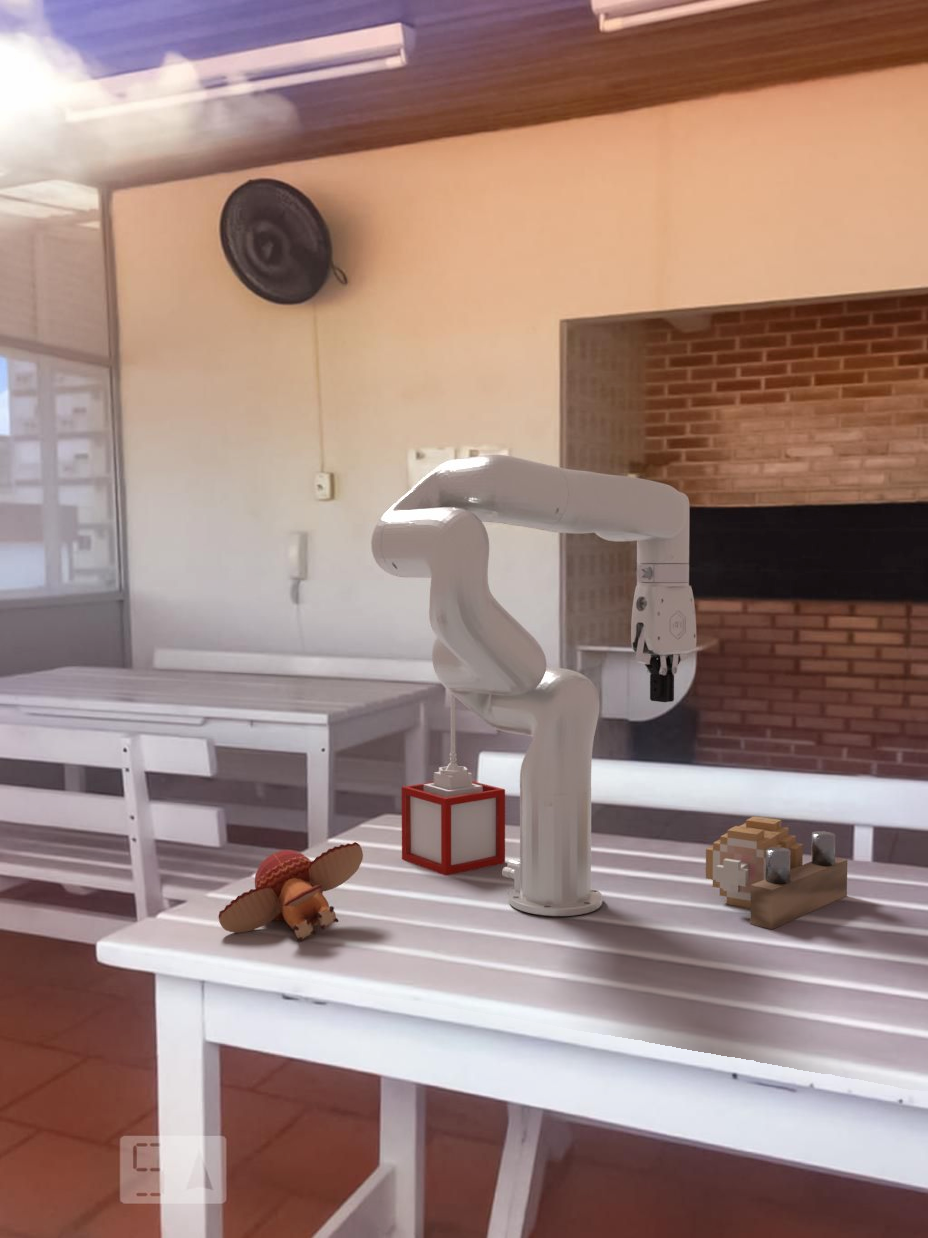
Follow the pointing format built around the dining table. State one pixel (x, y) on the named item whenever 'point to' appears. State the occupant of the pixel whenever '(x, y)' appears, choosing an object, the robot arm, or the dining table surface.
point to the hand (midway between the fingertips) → (661, 700)
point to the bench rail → (798, 883)
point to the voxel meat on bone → (747, 857)
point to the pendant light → (453, 820)
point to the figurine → (293, 891)
